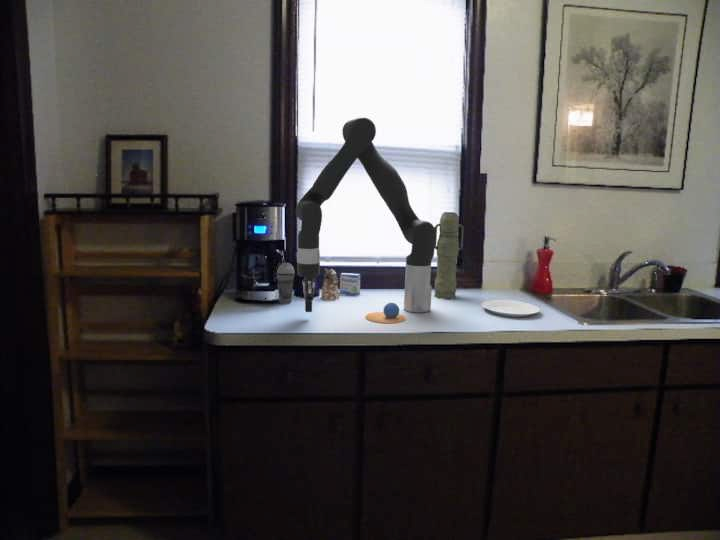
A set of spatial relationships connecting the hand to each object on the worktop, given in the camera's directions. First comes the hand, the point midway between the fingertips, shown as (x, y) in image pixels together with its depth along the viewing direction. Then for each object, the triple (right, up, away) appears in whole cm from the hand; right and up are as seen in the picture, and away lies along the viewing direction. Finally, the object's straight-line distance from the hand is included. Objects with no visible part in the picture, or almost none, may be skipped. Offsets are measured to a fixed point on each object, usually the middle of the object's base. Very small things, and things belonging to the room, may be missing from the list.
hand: (308, 311), depth 171 cm
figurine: (+5, +2, +31) cm, 32 cm away
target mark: (+26, -3, +5) cm, 27 cm away
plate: (+74, -2, +18) cm, 76 cm away
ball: (+28, 0, +4) cm, 29 cm away
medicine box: (+13, +4, +40) cm, 42 cm away
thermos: (+53, +3, +40) cm, 66 cm away
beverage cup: (-11, +1, +23) cm, 25 cm away
